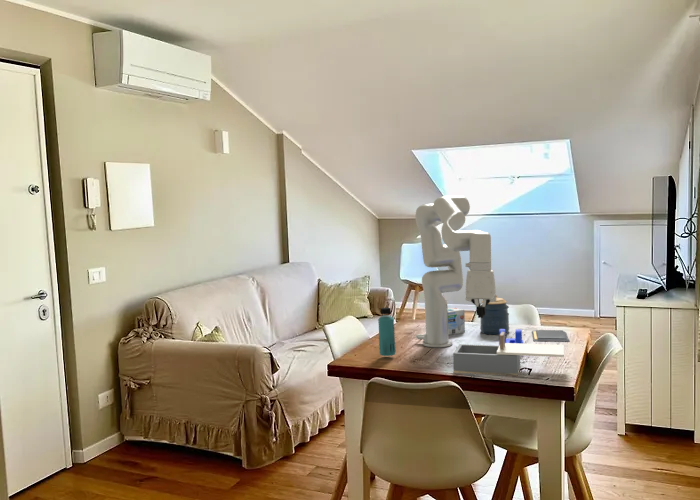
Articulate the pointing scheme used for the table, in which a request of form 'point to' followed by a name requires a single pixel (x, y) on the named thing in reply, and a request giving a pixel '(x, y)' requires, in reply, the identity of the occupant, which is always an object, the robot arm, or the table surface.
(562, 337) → the wallet
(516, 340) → the bracket
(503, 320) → the canister
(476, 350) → the grey tray
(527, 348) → the lid
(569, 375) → the table surface
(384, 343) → the beverage bottle
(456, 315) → the light bulb box
